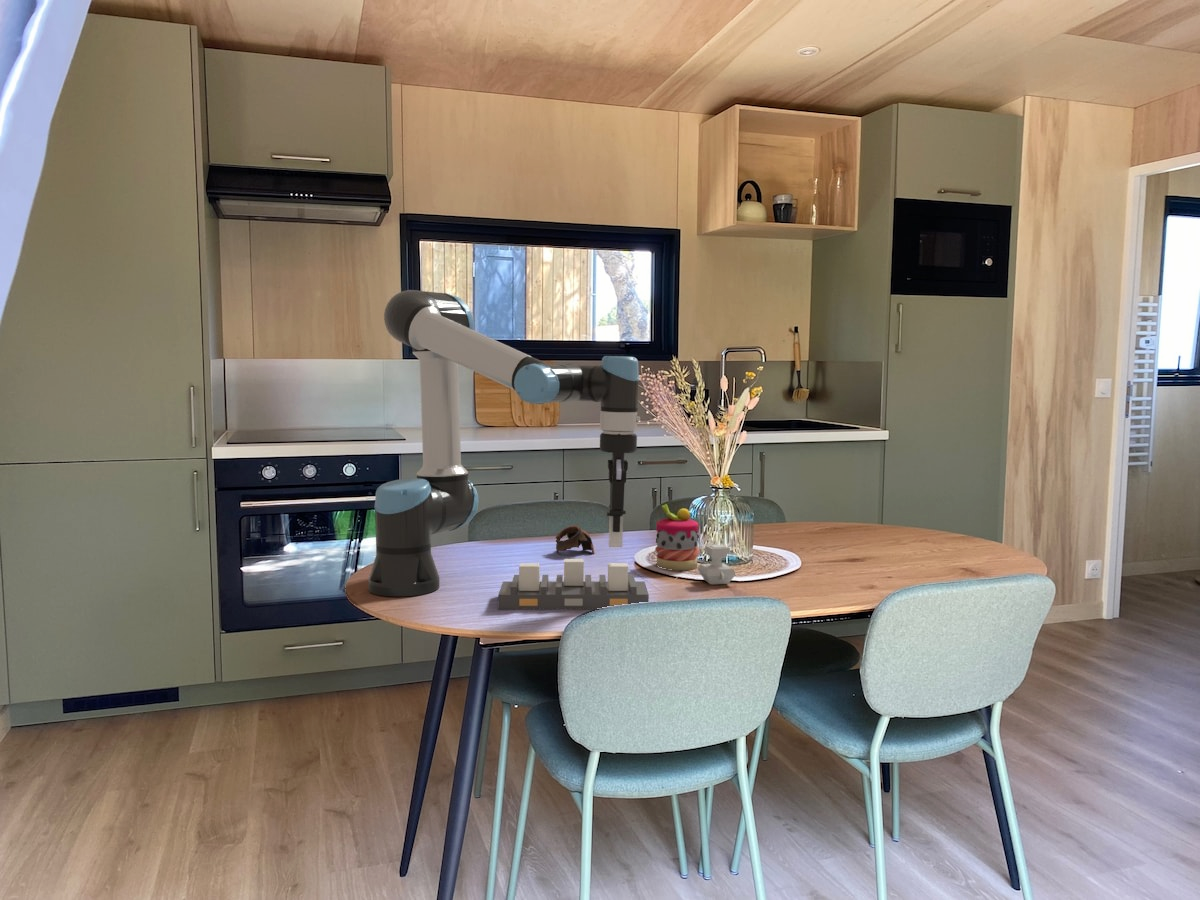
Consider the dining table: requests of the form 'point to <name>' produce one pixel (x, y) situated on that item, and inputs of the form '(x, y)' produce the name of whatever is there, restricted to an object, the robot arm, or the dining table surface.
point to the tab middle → (573, 572)
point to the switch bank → (570, 594)
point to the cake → (677, 541)
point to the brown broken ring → (574, 539)
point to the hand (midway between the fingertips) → (615, 546)
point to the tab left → (529, 576)
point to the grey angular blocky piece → (716, 566)
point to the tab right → (617, 576)
